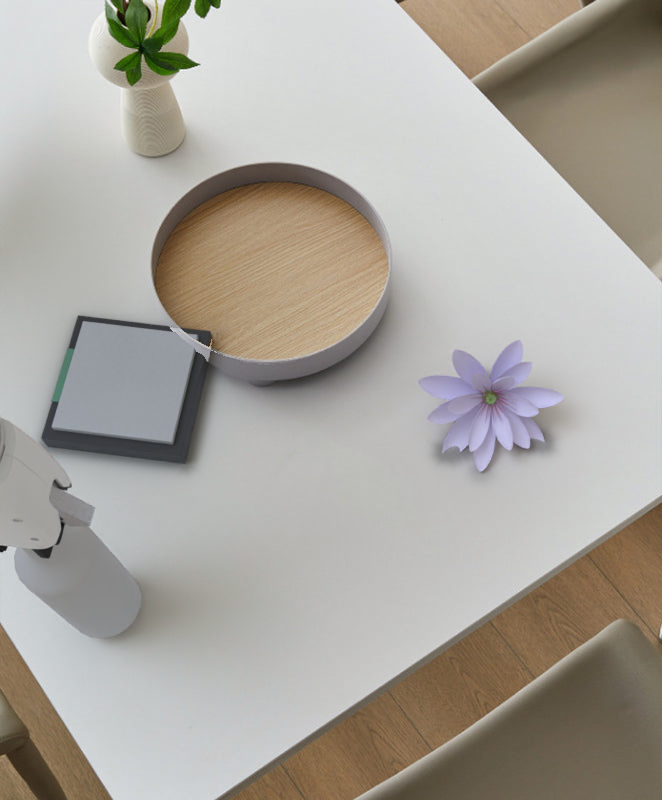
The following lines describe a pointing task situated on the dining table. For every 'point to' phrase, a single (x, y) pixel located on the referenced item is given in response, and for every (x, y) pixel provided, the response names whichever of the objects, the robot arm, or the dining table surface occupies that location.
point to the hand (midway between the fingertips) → (28, 534)
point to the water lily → (488, 403)
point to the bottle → (82, 583)
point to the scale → (127, 390)
